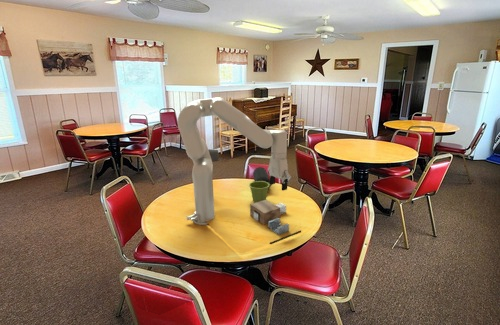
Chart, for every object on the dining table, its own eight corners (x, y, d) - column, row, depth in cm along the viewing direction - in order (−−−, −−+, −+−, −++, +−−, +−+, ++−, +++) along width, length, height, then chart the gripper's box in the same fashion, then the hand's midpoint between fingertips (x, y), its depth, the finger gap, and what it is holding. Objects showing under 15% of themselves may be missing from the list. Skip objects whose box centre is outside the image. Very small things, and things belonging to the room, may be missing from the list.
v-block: (271, 244, 127) (271, 234, 125) (255, 232, 136) (255, 223, 135) (301, 232, 136) (301, 222, 135) (284, 221, 146) (284, 213, 144)
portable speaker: (271, 192, 183) (271, 178, 180) (255, 193, 182) (255, 178, 179) (266, 179, 207) (266, 165, 204) (252, 179, 206) (252, 166, 204)
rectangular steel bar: (258, 221, 144) (258, 214, 142) (253, 218, 147) (253, 211, 146) (286, 212, 153) (286, 205, 152) (281, 209, 156) (281, 202, 155)
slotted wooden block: (263, 227, 141) (263, 213, 139) (250, 218, 150) (250, 204, 148) (279, 221, 146) (280, 207, 144) (265, 212, 156) (265, 199, 153)
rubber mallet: (220, 194, 181) (218, 147, 172) (220, 198, 174) (218, 150, 165) (200, 194, 181) (197, 148, 172) (199, 199, 173) (196, 151, 165)
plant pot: (269, 198, 174) (269, 181, 170) (269, 207, 162) (269, 188, 159) (250, 198, 175) (250, 180, 172) (248, 206, 164) (247, 188, 160)
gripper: (262, 152, 148) (262, 183, 153) (284, 160, 134) (283, 194, 139) (274, 150, 152) (273, 180, 157) (296, 157, 138) (295, 190, 143)
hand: (278, 186), depth 148 cm, fingers open, 9 cm apart
